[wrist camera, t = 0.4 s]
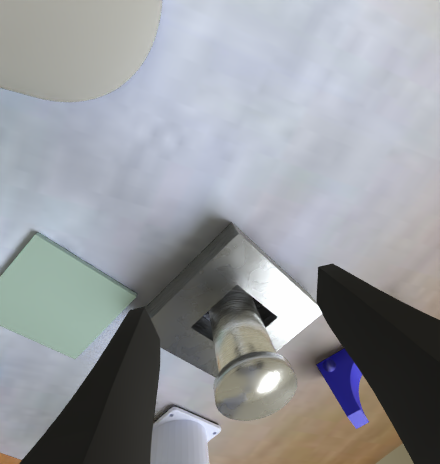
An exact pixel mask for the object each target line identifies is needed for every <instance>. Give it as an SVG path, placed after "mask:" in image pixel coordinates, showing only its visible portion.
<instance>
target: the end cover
mask: <svg viewBox="0 0 440 464" xmlns="http://www.w3.org/2000/svg"><path fill="white" fill-rule="evenodd" d="M208 312H209V318H210V324H211V330H212V336H213V342H214V348H215V354H216V360H217V366H218V372H219V373H218V375H217V377H216V379H215V382H214V395H215V402H216V406H217V408H218V410H219V411H220V413H221V414H223V415H224V416H226V417H228V418H230V419H234V420H240V421H249V420H256V419H260V418H264V417H266V416H269V415H271V414H273V413H275V412H277V411H278V410H280V409H281V408H283V407H284V406H285V405H286V404H287V403H288V402H289V401H290V400H291V398H292V397H293V395H294V394H295V391H296V388H297V378H296V375H295V373H294V371H293V369H292V367H291V365H290V363H289V362H288V360H287V359H286V358H284V357H283V356H281V355H280V354H277V352H276V350H275V348H274V346H273V343H272V341H271V339H270V337H269V334H268V332H267V330H266V328H265V326H264V323H263V321H262V319H261V317H260V315H259V312H258V310H257V308H256V306H255V303H254V301H253V299H252V297H251V295H250V294H248V293H247V292H246V291H245V290H243V289H242V288H241V287H240V286H238V285H236V286H235V287H234V288H233V289H231V290H230V291H229V292H228V293H227V294H226V295H225V296H224V297H223V298H222V299H221V300H220V301H218V302H217V303H216V304H215V305H214V306H213V307H212V308H211V309H210V310H209V311H208Z"/></svg>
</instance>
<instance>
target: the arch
mask: <svg viewBox="0 0 440 464" xmlns="http://www.w3.org/2000/svg"><path fill="white" fill-rule="evenodd" d="M21 461H22V460H20V459H17V458H14V457H11V456H8V455H5V454H2V453H0V464H19V463H20V462H21Z"/></svg>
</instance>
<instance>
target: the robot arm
mask: <svg viewBox="0 0 440 464" xmlns="http://www.w3.org/2000/svg"><path fill="white" fill-rule="evenodd" d="M317 304H318V306H319V308H320V310H321V312H322V314H323V316H324V318H325V320H326V321H327V323H328V325H329V326H330V328H331V329H332V331H333V332H334V334H335V335H336V337H337V338H338V340H339V341H340V343H341V344H342V346H343V347H344V348H345V350H346V351H347V353H348V354H349V356H350V357H351V359H352V360H353V361H354V363H355V364H356V366H357V367H358V369H359V370H360V372H361V373H362V374H363V376H364V377H365V379H366V380H367V382H368V383H369V385H370V387H371V388H372V390H373V391H374V393H375V395H376V396H377V398H378V400H379V402H380V403H381V405H382V407H383V408H384V410H385V412H386V414H387V415H388V417H389V419H390V421H391V422H392V424H393V426H394V428H395V430H396V431H397V433H398V435H399V437H400V439H401V440H402V442H403V444H404V446H405V448H406V450H407V451H408V453H409V455H410V457H411V459H412V461H413V463H414V464H440V320H438V319H436V318H434V317H432V316H430V315H427V314H425V313H423V312H421V311H419V310H417V309H415V308H413V307H411V306H409V305H407V304H405V303H403V302H401V301H399V300H397V299H395V298H393V297H392V296H390V295H388V294H386V293H384V292H382V291H380V290H379V289H377V288H375V287H373V286H371V285H370V284H368V283H366V282H364V281H363V280H361V279H359V278H357V277H355V276H354V275H352V274H350V273H348V272H347V271H345V270H343V269H341V268H340V267H338V266H336V265H334V264H329V265H325V266H320V267H318V283H317ZM159 371H160V338H159V336H158V334H157V331H156V329H155V327H154V325H153V323H152V321H151V319H150V316H149V314H148V312H147V310H146V308H145V307H142V308H137V309H133V310H130V311H129V312H128V314H127V315H126V317H125V319H124V320H123V322H122V323H121V325H120V327H119V328H118V330H117V331H116V333H115V335H114V336H113V338H112V339H111V341H110V343H109V344H108V346H107V347H106V349H105V350H104V352H103V354H102V355H101V357H100V358H99V360H98V361H97V363H96V364H95V366H94V367H93V369H92V370H91V372H90V373H89V375H88V376H87V377H86V379H85V380H84V382H83V383H82V385H81V386H80V387H79V389H78V390H77V392H76V393H75V395H74V396H73V397H72V399H71V400H70V401H69V403H68V404H67V405H66V407H65V408H64V409H63V411H62V412H61V413H60V415H59V416H58V417H57V419H56V420H55V421H54V422H53V424H52V425H51V426H50V427H49V429H48V430H47V431H46V432H45V434H44V435H43V436H42V437H41V439H40V440H39V441H38V442H37V443H36V445H35V446H34V447H33V448H32V449H31V450H30V452H29V453H28V454H27V455H26V456H25V457H24V459H23V460H22V461H21V462H20V463H19V464H209V455H208V444H207V442H208V441H209V440H211V439H212V438H213V437H214V436H216V435H217V434H218V433H219V432H220V431H221V427H220V426H219V425H217V424H214V423H212V422H210V421H208V420H205V419H203V418H201V417H198V416H196V415H194V414H192V413H189V412H187V411H185V410H183V409H180V408H178V407H172V408H171V409H170V410H168V411H167V412H166V413H165V414H164V415H163V416H161V417H160V418H159V419H158V420H157V421H156V422H155V423H153V422H154V413H155V405H156V397H157V388H158V380H159Z"/></svg>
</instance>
